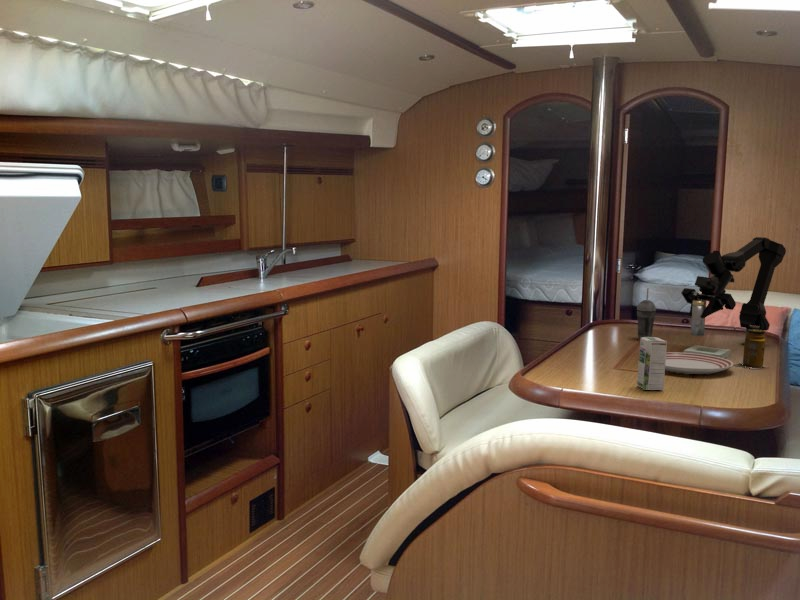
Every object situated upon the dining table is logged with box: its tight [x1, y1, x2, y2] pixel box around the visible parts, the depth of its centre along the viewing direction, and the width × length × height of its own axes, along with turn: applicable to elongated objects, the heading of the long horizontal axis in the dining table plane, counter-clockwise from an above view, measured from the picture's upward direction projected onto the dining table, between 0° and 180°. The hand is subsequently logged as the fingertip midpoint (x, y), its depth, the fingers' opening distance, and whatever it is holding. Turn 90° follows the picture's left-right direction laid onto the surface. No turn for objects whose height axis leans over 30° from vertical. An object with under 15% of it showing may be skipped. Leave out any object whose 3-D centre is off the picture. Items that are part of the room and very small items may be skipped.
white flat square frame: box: [683, 344, 731, 359], centre depth 256 cm, size 12×12×2 cm
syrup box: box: [636, 336, 668, 391], centre depth 209 cm, size 6×6×14 cm
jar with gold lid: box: [690, 300, 707, 337], centre depth 258 cm, size 4×4×12 cm
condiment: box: [733, 329, 769, 370], centre depth 240 cm, size 7×8×12 cm
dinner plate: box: [665, 351, 734, 375], centre depth 236 cm, size 28×27×3 cm
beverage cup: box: [636, 288, 657, 341], centre depth 282 cm, size 7×7×20 cm
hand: (696, 316), depth 257 cm, fingers closed on jar with gold lid, 4 cm apart
